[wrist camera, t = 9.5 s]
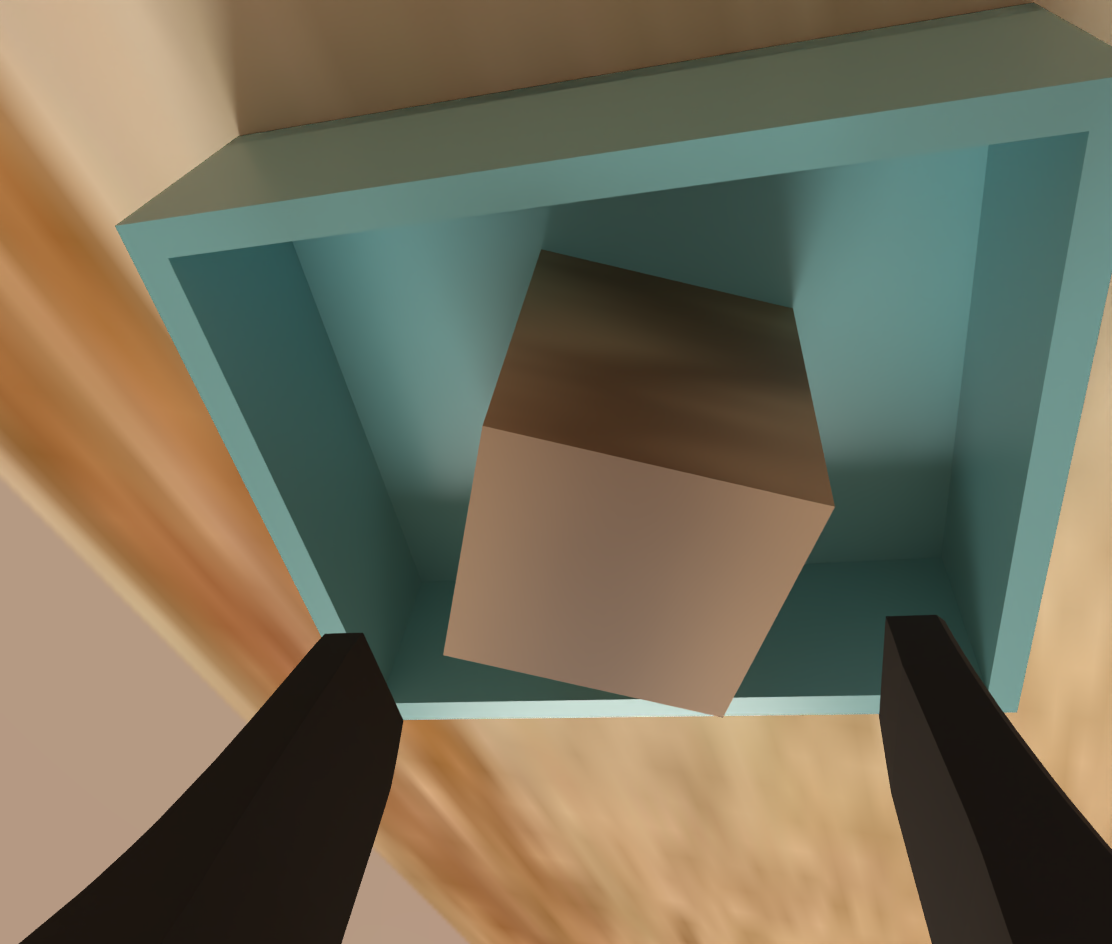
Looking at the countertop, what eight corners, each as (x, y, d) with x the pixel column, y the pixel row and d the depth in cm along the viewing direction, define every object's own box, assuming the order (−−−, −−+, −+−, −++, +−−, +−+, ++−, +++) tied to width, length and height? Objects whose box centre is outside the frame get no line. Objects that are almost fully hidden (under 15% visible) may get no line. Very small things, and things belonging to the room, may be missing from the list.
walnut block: (793, 308, 17) (834, 507, 12) (714, 499, 20) (722, 717, 15) (540, 249, 16) (482, 426, 12) (502, 450, 20) (443, 655, 15)
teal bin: (1032, 2, 14) (1154, 71, 10) (959, 557, 21) (1016, 711, 17) (238, 136, 16) (114, 225, 13) (412, 582, 23) (363, 720, 20)
